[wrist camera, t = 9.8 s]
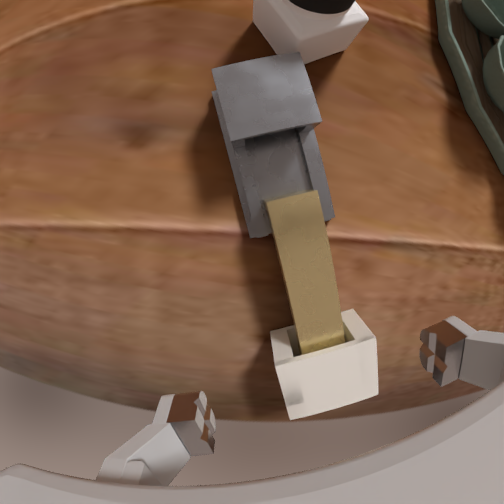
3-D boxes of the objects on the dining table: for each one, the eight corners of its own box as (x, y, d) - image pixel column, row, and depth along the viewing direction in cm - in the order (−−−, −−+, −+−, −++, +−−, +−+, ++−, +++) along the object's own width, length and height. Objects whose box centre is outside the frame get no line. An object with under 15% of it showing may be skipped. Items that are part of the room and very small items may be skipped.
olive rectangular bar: (299, 353, 29) (306, 376, 25) (263, 200, 26) (265, 202, 22) (337, 343, 29) (348, 364, 25) (307, 189, 26) (318, 189, 22)
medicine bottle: (346, 50, 24) (394, -9, 12) (287, 72, 24) (311, 6, 13) (310, 2, 22) (336, -67, 10) (251, 21, 23) (253, -54, 11)
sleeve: (250, 236, 28) (250, 250, 22) (212, 94, 25) (203, 71, 19) (332, 216, 27) (354, 224, 21) (295, 77, 24) (307, 50, 18)
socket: (283, 381, 31) (290, 420, 25) (269, 331, 30) (274, 366, 23) (358, 360, 31) (378, 394, 25) (352, 308, 29) (375, 337, 23)
